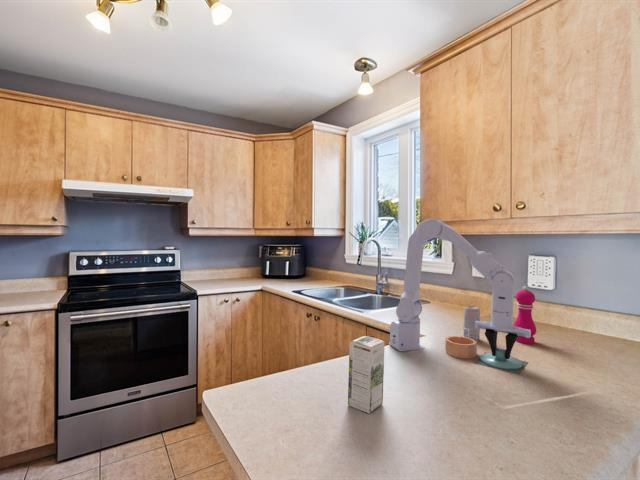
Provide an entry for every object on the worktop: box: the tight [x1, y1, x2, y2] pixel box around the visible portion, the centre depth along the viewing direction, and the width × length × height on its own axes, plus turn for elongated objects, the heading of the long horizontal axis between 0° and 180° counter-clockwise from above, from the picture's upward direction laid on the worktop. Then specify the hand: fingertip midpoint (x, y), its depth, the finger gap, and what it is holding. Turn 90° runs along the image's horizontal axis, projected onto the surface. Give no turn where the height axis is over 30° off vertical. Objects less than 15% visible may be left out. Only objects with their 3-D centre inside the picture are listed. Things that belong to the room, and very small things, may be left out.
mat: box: [472, 351, 529, 375], centre depth 101 cm, size 12×12×1 cm
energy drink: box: [462, 305, 481, 342], centre depth 123 cm, size 5×5×12 cm
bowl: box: [444, 335, 478, 359], centre depth 108 cm, size 9×9×4 cm
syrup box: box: [347, 335, 386, 414], centre depth 75 cm, size 6×6×14 cm
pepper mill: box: [513, 285, 537, 345], centre depth 123 cm, size 7×7×20 cm
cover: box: [479, 347, 522, 370], centre depth 101 cm, size 11×11×4 cm
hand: (500, 356), depth 101 cm, fingers closed on cover, 3 cm apart
